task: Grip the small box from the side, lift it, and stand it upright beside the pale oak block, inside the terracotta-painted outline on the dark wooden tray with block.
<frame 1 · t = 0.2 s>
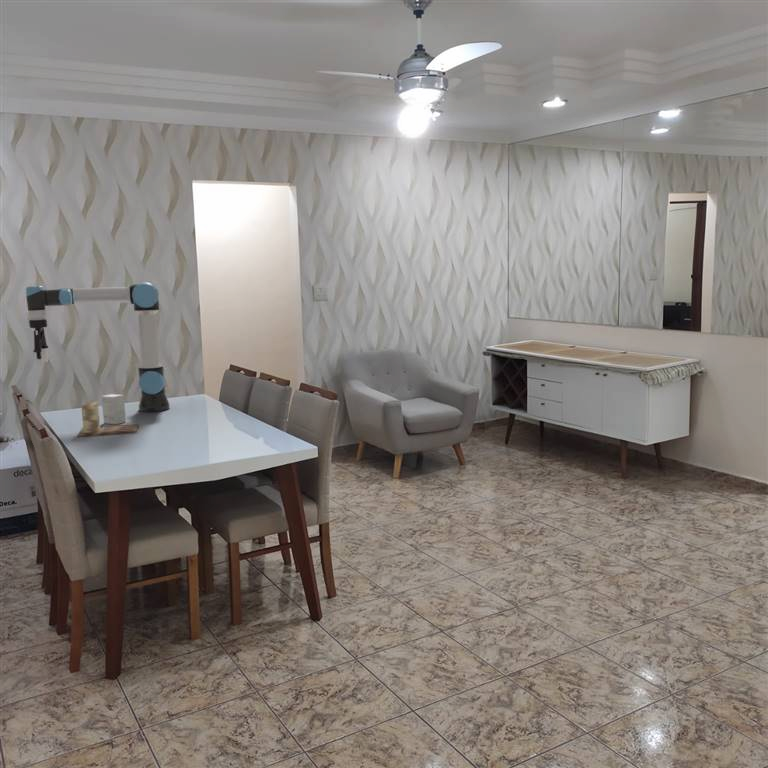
hand: (42, 364, 355), 28 cm above the table, tool pointing down, fingers open, 13 cm apart
wooden tray with block: (108, 431, 333), on the table
small box: (114, 423, 353), on the table
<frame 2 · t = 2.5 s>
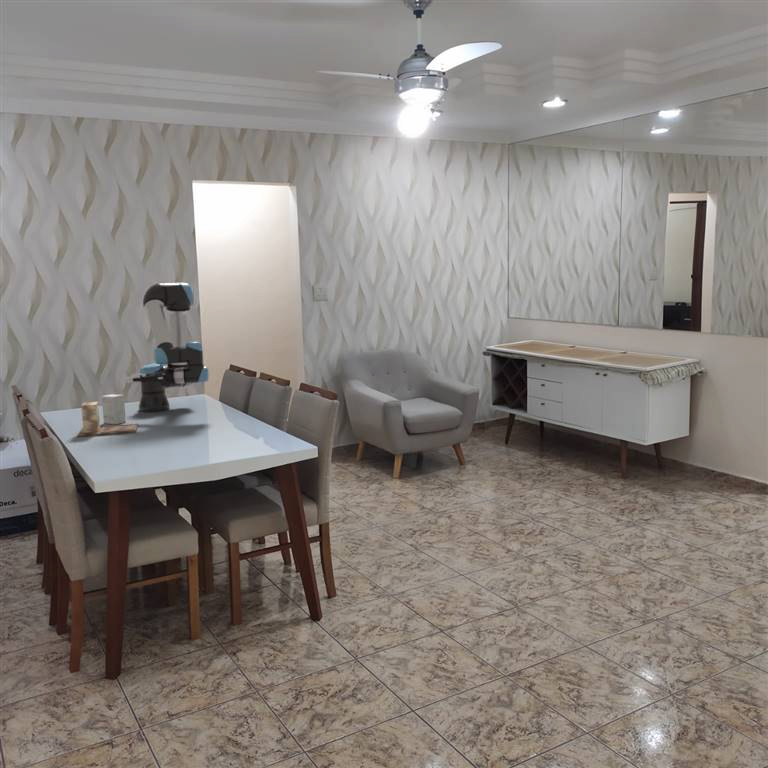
hand: (128, 378, 352), 20 cm above the table, tool horizontal, fingers open, 13 cm apart
nothing on the table moved.
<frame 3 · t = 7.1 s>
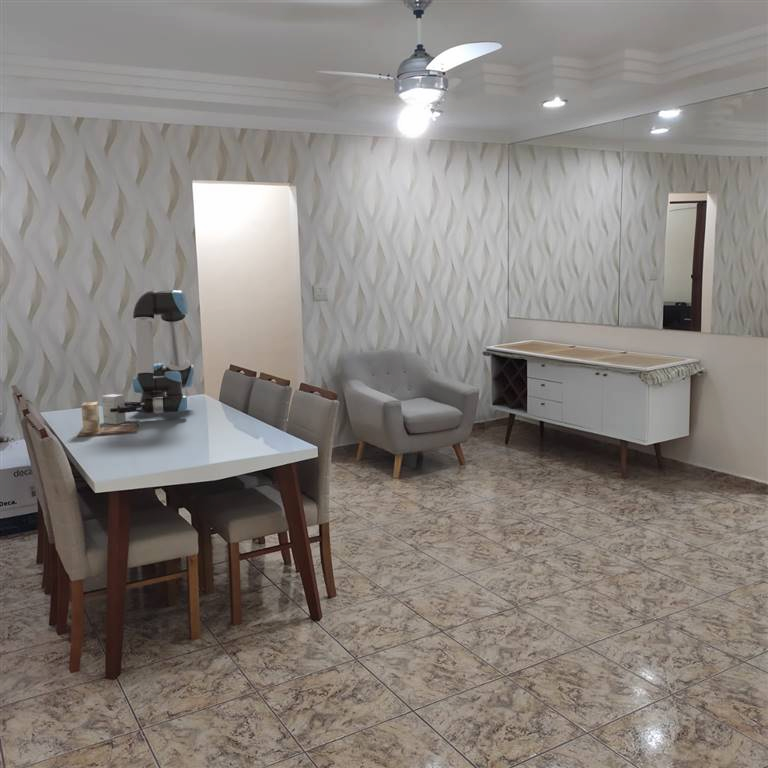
hand: (103, 408, 351), 7 cm above the table, tool horizontal, fingers closed on small box, 10 cm apart
small box: (114, 423, 353), on the table, touching gripper
when the fingers open (9 cm above the table, at t = 13.4 s): small box stays where it is, resting on wooden tray with block.
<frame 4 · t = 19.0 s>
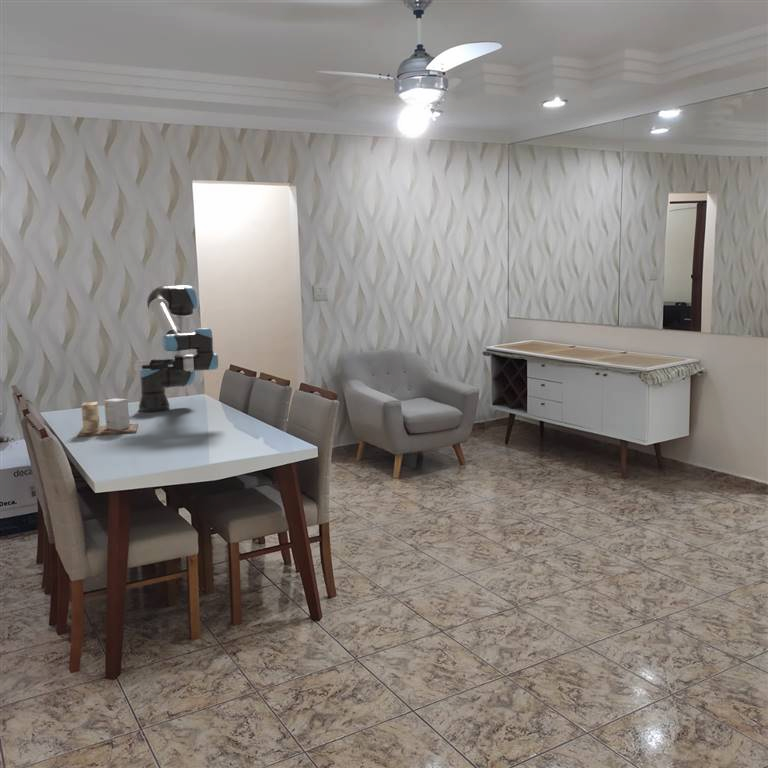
hand: (135, 365, 339), 28 cm above the table, tool horizontal, fingers open, 13 cm apart
small box: (118, 428, 334), point 1 cm above the table, touching wooden tray with block
at the end: small box 0.1 cm from the target spot on the wooden tray with block, point 0.8 cm above the wooden tray with block's base; small box tilted 0°; the gripper is holding nothing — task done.
